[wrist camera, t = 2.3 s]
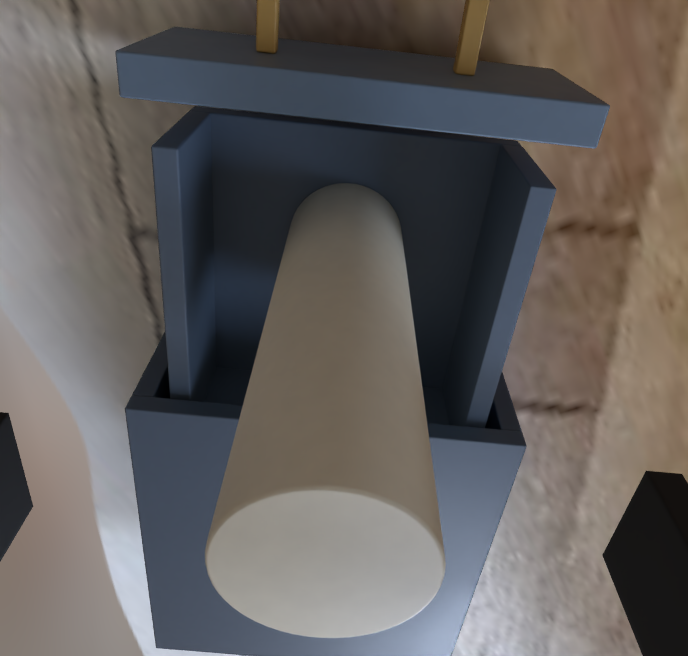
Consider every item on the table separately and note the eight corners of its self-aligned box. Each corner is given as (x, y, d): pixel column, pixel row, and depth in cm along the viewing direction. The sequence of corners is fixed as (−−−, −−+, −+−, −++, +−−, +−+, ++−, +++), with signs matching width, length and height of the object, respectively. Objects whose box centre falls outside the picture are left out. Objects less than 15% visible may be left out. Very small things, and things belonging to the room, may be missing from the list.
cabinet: (179, 302, 28) (124, 408, 21) (489, 332, 28) (527, 446, 22) (192, 524, 36) (155, 648, 30) (431, 544, 36) (445, 672, 30)
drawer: (165, -140, 18) (92, -172, 13) (595, -88, 19) (678, -101, 14) (190, 363, 28) (154, 449, 24) (467, 389, 29) (489, 480, 24)
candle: (307, 167, 22) (230, 460, 9) (418, 202, 23) (486, 522, 10) (277, 268, 24) (185, 613, 12) (379, 297, 25) (396, 656, 12)
